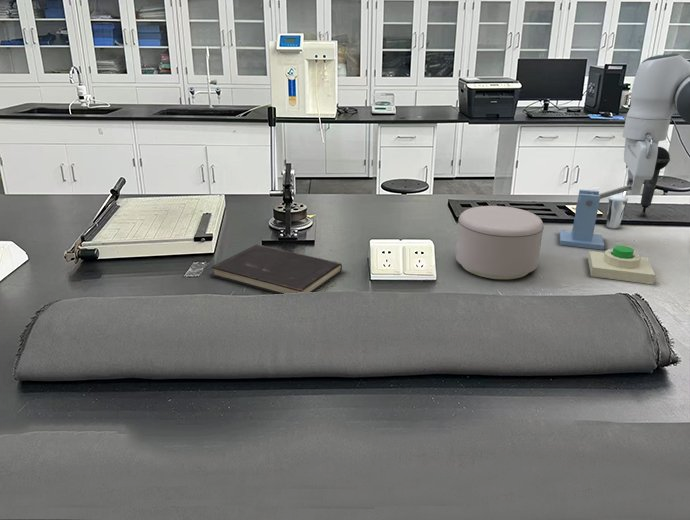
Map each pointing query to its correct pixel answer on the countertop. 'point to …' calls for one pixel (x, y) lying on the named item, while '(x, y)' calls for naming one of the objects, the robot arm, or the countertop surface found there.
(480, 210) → the container
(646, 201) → the microphone
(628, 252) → the light button
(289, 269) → the hardcover book
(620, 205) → the milkshake
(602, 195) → the light lever
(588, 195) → the lever bracket
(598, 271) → the switch block
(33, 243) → the countertop surface
